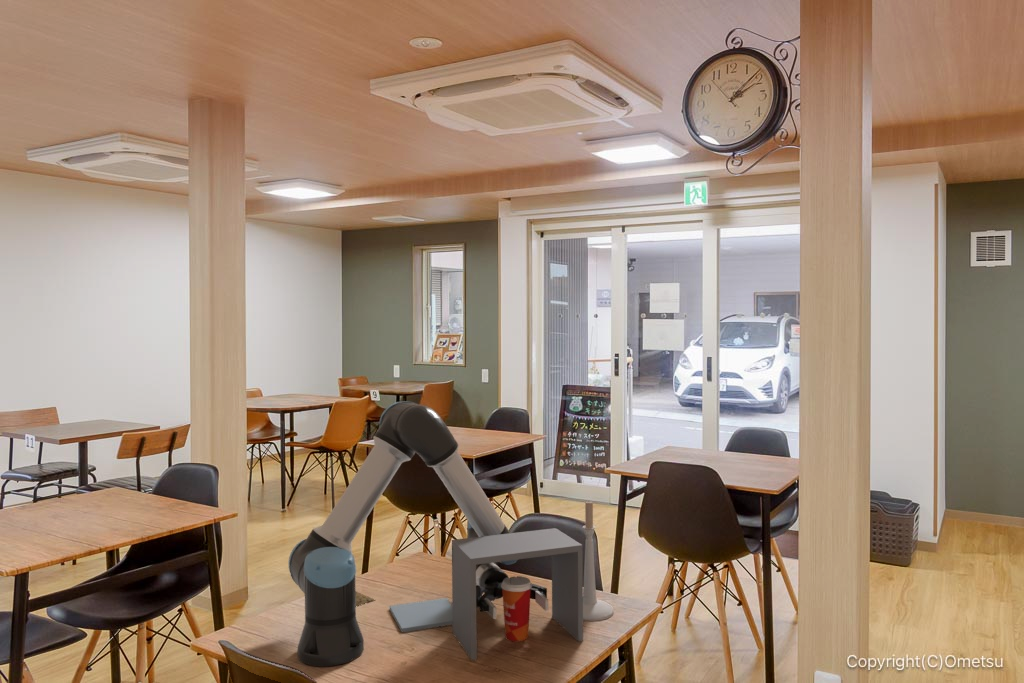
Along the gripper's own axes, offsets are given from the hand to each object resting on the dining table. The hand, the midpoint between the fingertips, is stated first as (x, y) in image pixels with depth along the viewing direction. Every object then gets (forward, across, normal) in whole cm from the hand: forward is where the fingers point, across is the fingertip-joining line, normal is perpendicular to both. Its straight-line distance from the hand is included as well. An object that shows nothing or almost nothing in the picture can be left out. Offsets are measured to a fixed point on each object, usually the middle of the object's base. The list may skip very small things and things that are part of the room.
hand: (521, 609), depth 178 cm
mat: (-24, +18, -8) cm, 31 cm away
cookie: (-43, +36, -9) cm, 57 cm away
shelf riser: (-3, 0, -8) cm, 8 cm away
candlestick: (-11, -24, -8) cm, 28 cm away
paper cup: (-3, 0, -8) cm, 9 cm away
